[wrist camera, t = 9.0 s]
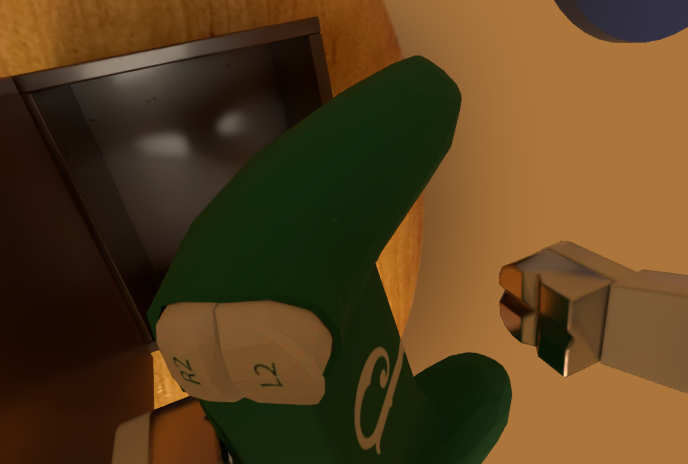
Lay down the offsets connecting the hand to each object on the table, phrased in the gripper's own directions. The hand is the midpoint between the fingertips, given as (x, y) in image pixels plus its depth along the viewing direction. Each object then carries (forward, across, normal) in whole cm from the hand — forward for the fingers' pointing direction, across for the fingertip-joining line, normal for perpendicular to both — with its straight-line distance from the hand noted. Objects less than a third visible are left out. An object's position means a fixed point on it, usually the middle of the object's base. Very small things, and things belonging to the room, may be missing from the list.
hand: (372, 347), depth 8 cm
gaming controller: (+2, 0, 0) cm, 2 cm away
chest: (+20, +1, 0) cm, 20 cm away
